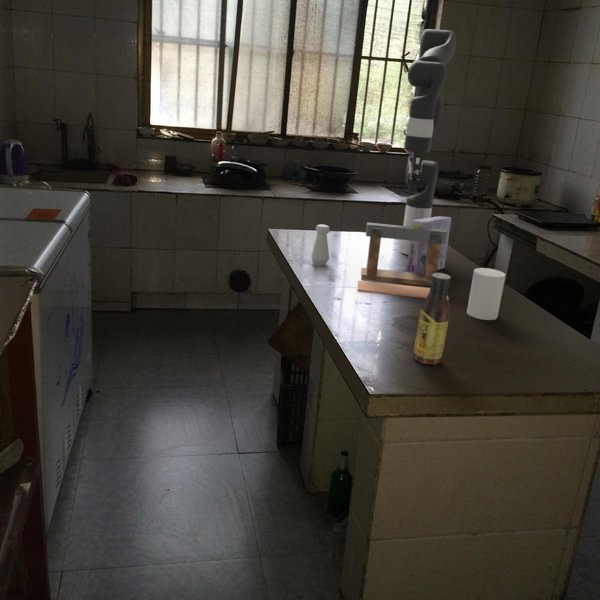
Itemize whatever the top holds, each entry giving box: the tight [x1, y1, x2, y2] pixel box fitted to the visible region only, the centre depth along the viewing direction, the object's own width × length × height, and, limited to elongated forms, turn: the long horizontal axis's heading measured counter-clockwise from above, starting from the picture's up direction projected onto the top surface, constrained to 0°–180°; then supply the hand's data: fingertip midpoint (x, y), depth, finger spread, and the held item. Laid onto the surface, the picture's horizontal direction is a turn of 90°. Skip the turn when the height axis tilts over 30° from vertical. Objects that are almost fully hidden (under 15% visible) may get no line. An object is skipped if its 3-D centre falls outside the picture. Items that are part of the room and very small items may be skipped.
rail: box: [365, 222, 447, 244], centre depth 198 cm, size 24×3×4 cm, turn 85°
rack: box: [360, 227, 442, 287], centre depth 200 cm, size 24×8×16 cm, turn 85°
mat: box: [357, 280, 450, 301], centre depth 191 cm, size 26×9×1 cm, turn 85°
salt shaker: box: [310, 224, 330, 267], centre depth 210 cm, size 6×6×13 cm
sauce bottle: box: [413, 272, 452, 366], centre depth 140 cm, size 6×6×20 cm
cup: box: [466, 267, 506, 321], centre depth 175 cm, size 8×8×12 cm
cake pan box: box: [405, 215, 452, 274], centre depth 212 cm, size 19×5×18 cm, turn 139°
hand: (411, 190), depth 193 cm, fingers open, 8 cm apart
